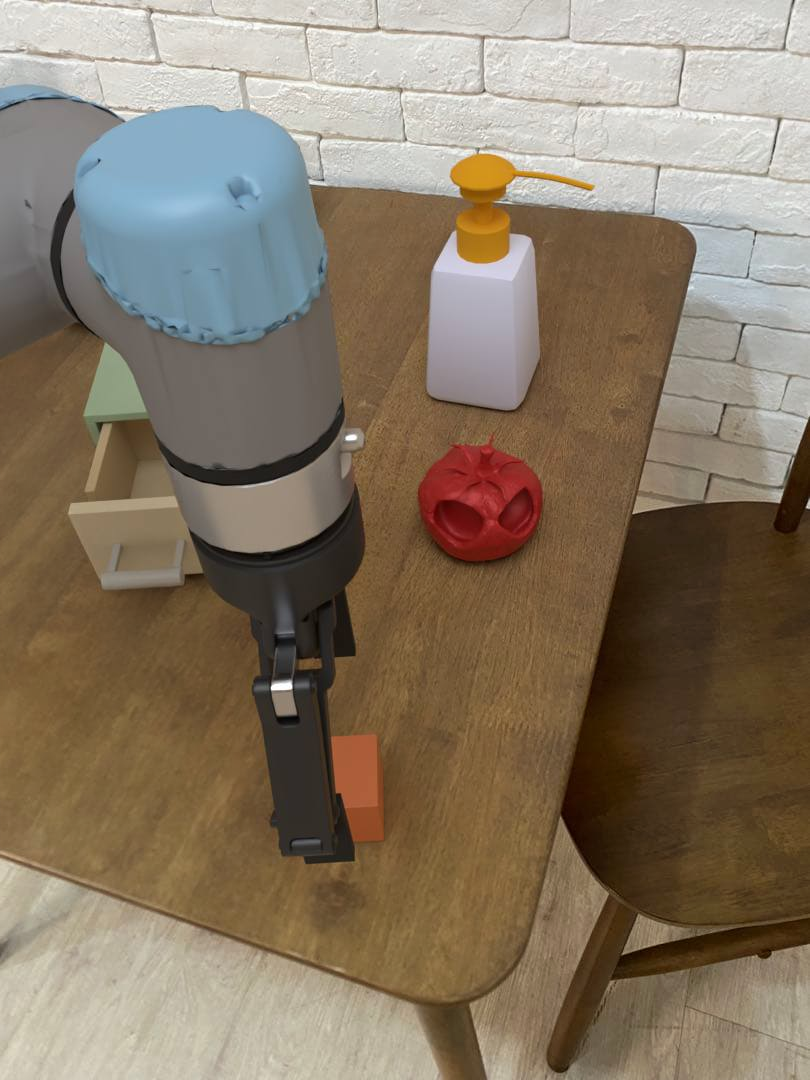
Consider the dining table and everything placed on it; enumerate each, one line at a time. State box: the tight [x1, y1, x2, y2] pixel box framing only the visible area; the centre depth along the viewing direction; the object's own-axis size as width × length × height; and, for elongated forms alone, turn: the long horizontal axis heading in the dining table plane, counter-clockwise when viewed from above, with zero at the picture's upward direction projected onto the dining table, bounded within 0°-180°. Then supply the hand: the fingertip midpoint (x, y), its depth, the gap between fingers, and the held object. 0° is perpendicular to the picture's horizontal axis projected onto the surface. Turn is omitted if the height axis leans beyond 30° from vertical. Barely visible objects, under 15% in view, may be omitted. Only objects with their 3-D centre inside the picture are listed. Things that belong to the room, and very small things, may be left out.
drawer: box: [67, 419, 204, 592], centre depth 76 cm, size 18×10×8 cm, turn 2°
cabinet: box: [82, 341, 149, 449], centre depth 84 cm, size 15×12×10 cm
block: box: [331, 733, 385, 843], centre depth 60 cm, size 5×5×5 cm
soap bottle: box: [425, 153, 596, 411], centre depth 82 cm, size 10×14×22 cm
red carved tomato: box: [417, 430, 544, 562], centre depth 75 cm, size 10×10×9 cm
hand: (333, 746), depth 56 cm, fingers open, 13 cm apart
